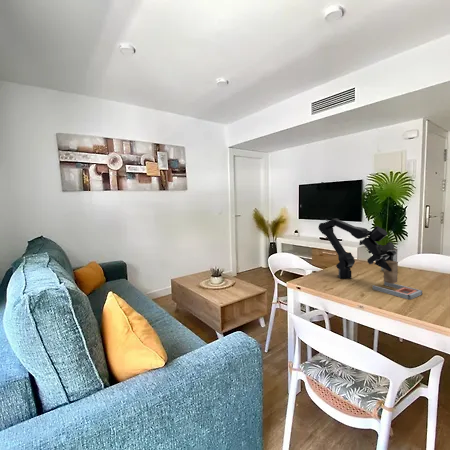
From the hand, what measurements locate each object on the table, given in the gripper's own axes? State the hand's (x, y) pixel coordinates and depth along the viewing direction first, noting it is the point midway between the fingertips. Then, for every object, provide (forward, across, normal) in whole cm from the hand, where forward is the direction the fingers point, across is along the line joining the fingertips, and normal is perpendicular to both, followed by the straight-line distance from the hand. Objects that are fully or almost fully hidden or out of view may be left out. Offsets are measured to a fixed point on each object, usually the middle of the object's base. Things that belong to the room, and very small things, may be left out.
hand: (393, 270), depth 131 cm
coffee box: (-6, +33, +22) cm, 40 cm away
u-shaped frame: (+9, 0, +7) cm, 11 cm away
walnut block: (+4, 0, +6) cm, 7 cm away
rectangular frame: (+12, 0, +4) cm, 13 cm away
